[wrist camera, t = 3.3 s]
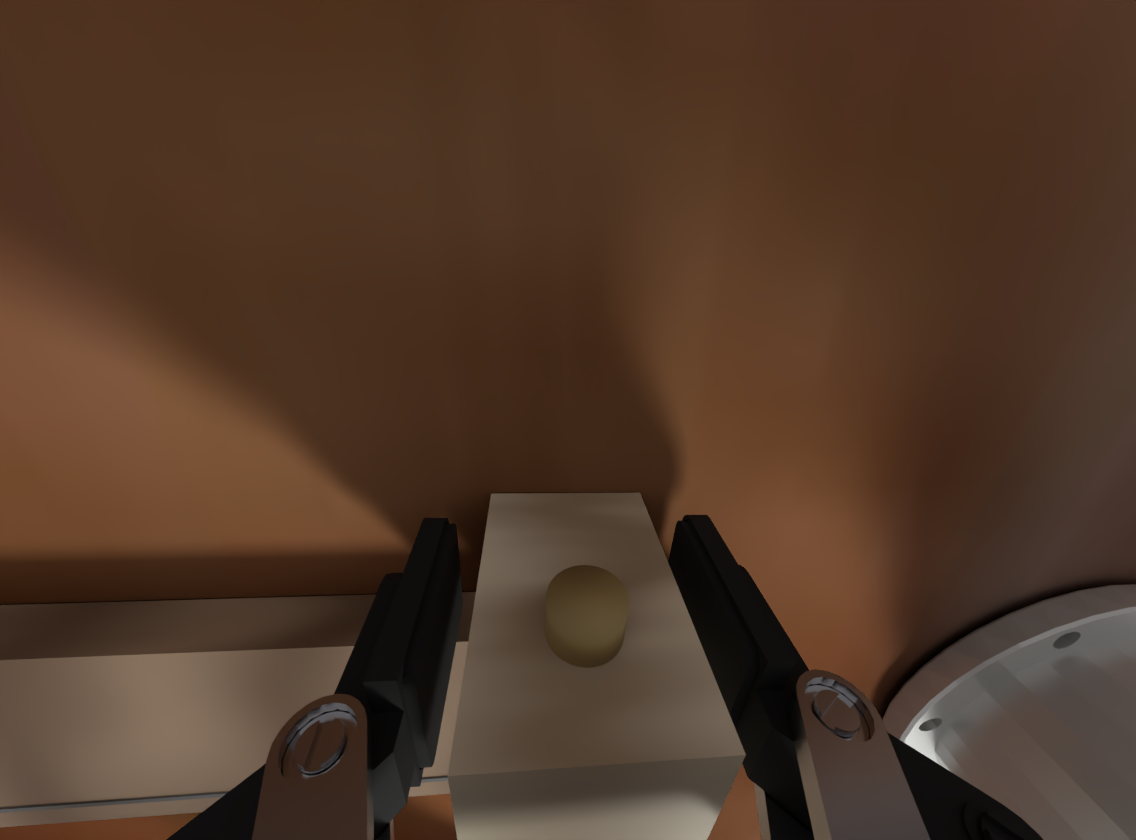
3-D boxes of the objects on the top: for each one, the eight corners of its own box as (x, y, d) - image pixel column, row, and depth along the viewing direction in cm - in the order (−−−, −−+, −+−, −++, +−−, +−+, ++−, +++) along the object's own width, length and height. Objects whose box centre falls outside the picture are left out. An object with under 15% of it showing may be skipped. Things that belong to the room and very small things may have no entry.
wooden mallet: (644, 467, 10) (761, 721, 5) (599, 743, 16) (633, 999, 11) (490, 467, 10) (442, 741, 5) (501, 750, 16) (485, 1018, 10)
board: (686, 585, 13) (707, 633, 11) (650, 728, 16) (662, 779, 15) (-120, 608, 10) (-227, 671, 9) (39, 766, 14) (-20, 830, 12)
